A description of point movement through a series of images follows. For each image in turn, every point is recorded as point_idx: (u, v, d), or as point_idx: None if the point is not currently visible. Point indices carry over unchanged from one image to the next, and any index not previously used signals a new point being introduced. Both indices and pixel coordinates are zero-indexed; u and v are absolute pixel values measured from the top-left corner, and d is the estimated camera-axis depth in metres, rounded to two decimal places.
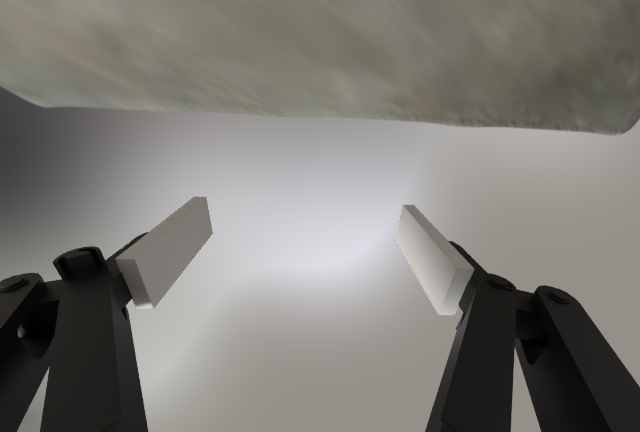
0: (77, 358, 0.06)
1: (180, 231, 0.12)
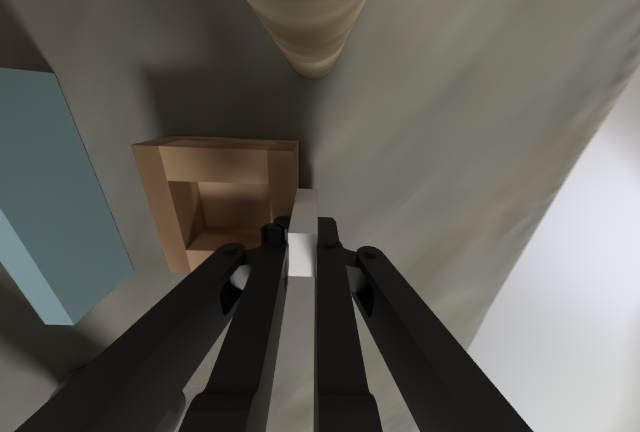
0: (250, 311, 0.07)
1: None
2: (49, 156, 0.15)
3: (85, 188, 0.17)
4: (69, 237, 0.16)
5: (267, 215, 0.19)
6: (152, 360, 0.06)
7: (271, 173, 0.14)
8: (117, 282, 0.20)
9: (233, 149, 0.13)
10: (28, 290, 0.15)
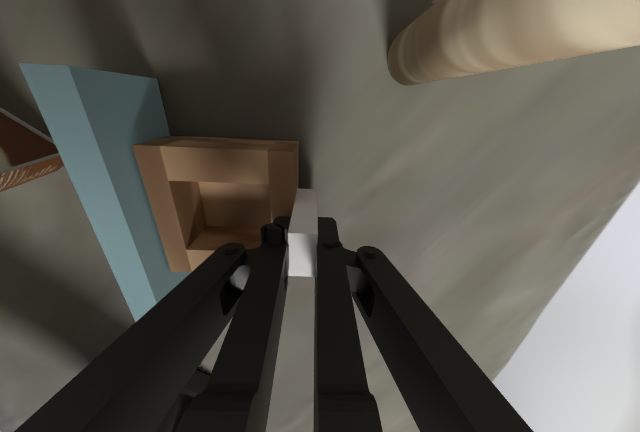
0: (250, 311, 0.07)
1: None
2: None
3: None
4: None
5: (267, 215, 0.19)
6: (152, 360, 0.06)
7: (271, 173, 0.14)
8: None
9: (234, 149, 0.13)
10: (128, 291, 0.15)
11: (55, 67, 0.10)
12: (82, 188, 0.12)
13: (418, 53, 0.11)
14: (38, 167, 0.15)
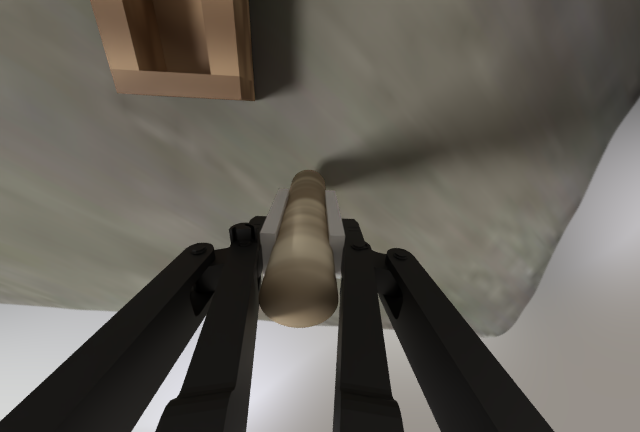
0: (223, 313, 0.07)
1: None
2: None
3: None
4: None
5: (180, 63, 0.19)
6: (120, 364, 0.06)
7: (221, 78, 0.16)
8: None
9: (236, 43, 0.16)
10: None
11: None
12: None
13: (297, 189, 0.17)
14: None
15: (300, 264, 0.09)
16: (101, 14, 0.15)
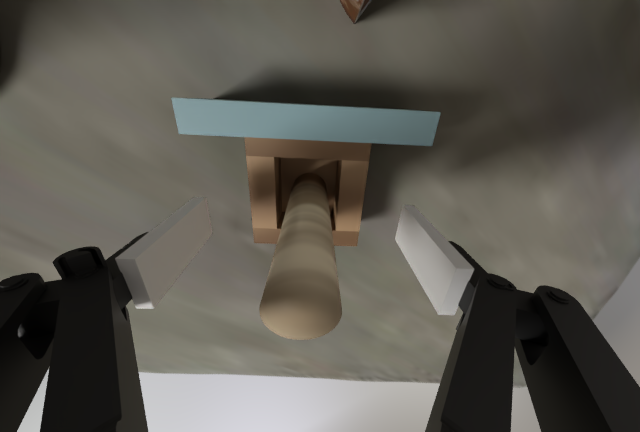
0: (77, 358, 0.06)
1: (180, 231, 0.12)
2: None
3: None
4: None
5: None
6: None
7: (343, 233, 0.20)
8: None
9: (361, 211, 0.19)
10: (228, 109, 0.14)
11: (433, 137, 0.15)
12: (350, 114, 0.14)
13: (299, 193, 0.16)
14: (350, 6, 0.15)
15: (302, 276, 0.09)
16: (255, 194, 0.18)
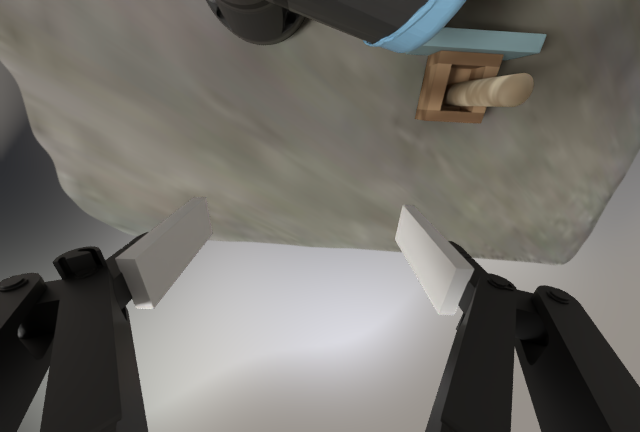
0: (77, 358, 0.06)
1: (180, 231, 0.12)
2: None
3: None
4: None
5: None
6: None
7: (475, 113, 0.36)
8: (411, 51, 0.34)
9: None
10: (449, 32, 0.30)
11: (540, 47, 0.30)
12: (504, 35, 0.30)
13: (466, 81, 0.32)
14: None
15: (522, 73, 0.24)
16: (435, 87, 0.34)
